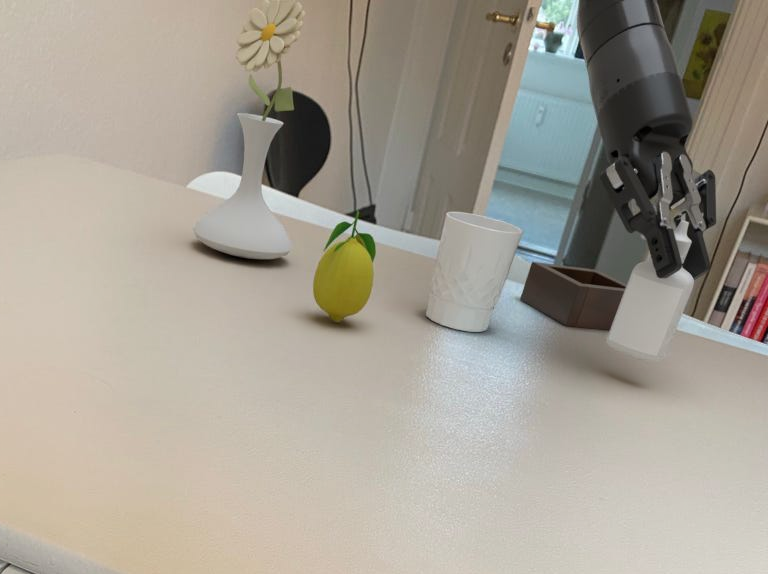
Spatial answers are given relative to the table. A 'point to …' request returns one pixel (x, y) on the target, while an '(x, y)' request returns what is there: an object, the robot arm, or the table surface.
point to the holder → (573, 295)
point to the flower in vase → (256, 142)
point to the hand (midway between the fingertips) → (685, 274)
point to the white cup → (471, 270)
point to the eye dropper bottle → (652, 307)
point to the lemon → (345, 273)
